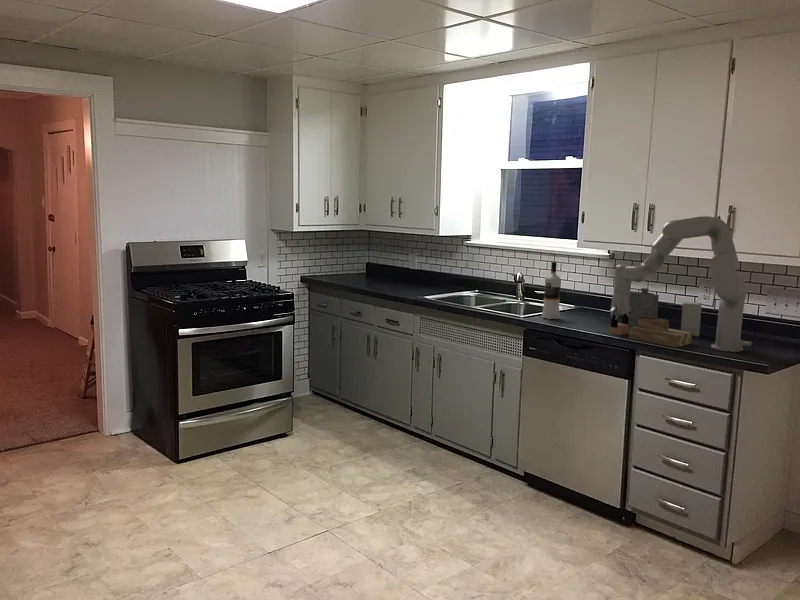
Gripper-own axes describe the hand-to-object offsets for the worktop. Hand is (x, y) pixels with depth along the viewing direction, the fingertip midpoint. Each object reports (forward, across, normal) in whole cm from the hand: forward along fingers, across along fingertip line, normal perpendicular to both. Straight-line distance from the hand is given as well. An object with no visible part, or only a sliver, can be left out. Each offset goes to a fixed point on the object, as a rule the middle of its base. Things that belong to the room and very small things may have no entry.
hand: (619, 326), depth 324 cm
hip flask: (+4, -23, -1) cm, 23 cm away
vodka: (+4, -6, -44) cm, 44 cm away
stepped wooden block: (+3, 0, +20) cm, 21 cm away
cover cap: (+4, 0, 0) cm, 4 cm away
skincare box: (+4, -26, +22) cm, 34 cm away
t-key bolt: (-7, 0, +12) cm, 14 cm away
